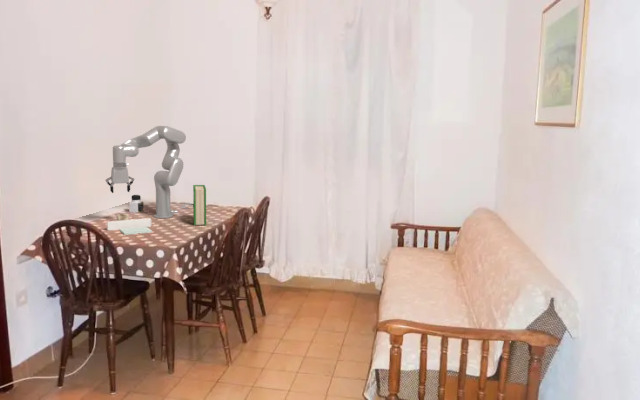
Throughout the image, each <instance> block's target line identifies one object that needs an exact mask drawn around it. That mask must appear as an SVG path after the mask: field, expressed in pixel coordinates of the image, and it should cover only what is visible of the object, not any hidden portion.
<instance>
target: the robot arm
mask: <svg viewBox="0 0 640 400" xmlns="http://www.w3.org/2000/svg"><path fill="white" fill-rule="evenodd" d="M162 139H163V140H165V143H166V147H167V148H166V152H165V154H164V156H163V159H162V162H161V167H162V168H163V170H159V171H156V172H155V174H154V177H153V181H154V187H155V211H156V212H155V214H153V217H154V218H157V219H168V218H169V219H170V218H173V216H174V214H178V212H179V211H178V210H176V209H175V210H174V209H173V210H172V209H171V188H170V187H174V186H176V184H178V183H179V182H178V181H179V179H180V176H181V174H182V172H183V169H184V161H183V159H182V158H180V157H179V155H180V151H181V150H180V144H183V143H184V142H185V141H186V134H185V132H184V131H182V130H179V129H176V128H173V127H170V126H166V125H157V126H154V127H153V128H151V129H150V130H147V131H146V132H145V133H143V134H141V135H138V136H136V137H132V138H130V139H128V140H126V141H124V142H123V143H121V144H120V145H114V146H113V147H112V166H113V167H111V169H110V170H111V173H110V177H108V178H105V182H106V184H107V185H108V186H109V188H110V192H111V193H112V194H113V193H114V185H115V184H127V185H126V190H127V191H126V192H128V193H130V191H131V186H132V184H133V183H134V181H135V178H134V177H131V176H130V175H129V170H128V167H127V166H129V162H128V163H127V161H126V160H127V158H126V157H129V158H134V157H136V156H138V155H139V152H140V150H139V149H141V148H148V147H150V146H152V145H154V144H155V143H156V142H158V141H160V140H162ZM129 180H130V181H129ZM109 181H111V182H109Z"/></svg>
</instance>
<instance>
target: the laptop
mask: <svg viewBox="0 0 640 400" xmlns="http://www.w3.org/2000/svg"><path fill="white" fill-rule="evenodd" d="M185 205H193V203H184V204H182V205H181V206H180V209H186V208H185V207H186V206H185Z"/></svg>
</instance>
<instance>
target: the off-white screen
mask: <svg viewBox="0 0 640 400" xmlns="http://www.w3.org/2000/svg"><path fill="white" fill-rule="evenodd" d="M139 227H148V228H149V227H150V228H151V227H152V218H151V217H148V218H135V219H129V220H122V221H117V220H112V221H111V220H110V221H107V222H106V228H107V229H106V230H107V231H115V230H117V231H118V230H120V229H127V228H139Z"/></svg>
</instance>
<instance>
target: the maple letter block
mask: <svg viewBox="0 0 640 400" xmlns="http://www.w3.org/2000/svg"><path fill="white" fill-rule="evenodd" d="M129 216H130V215H129V214H127V213H119V214H116V221H122V220H130V219H129Z"/></svg>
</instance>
